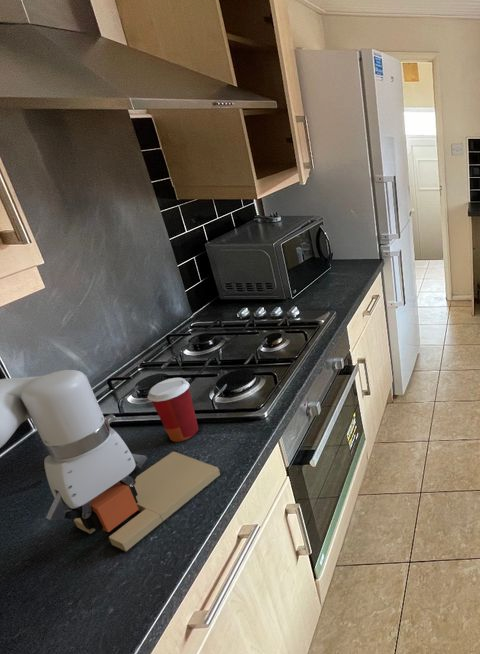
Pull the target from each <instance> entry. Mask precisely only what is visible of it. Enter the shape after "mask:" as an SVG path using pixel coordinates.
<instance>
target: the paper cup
mask: <svg viewBox="0 0 480 654" xmlns="http://www.w3.org/2000/svg"><path fill="white" fill-rule="evenodd" d="M190 386H191V385H190V383H189V382H188V381H187V380H186V379H185V378H183V377H172V378H167V379H164V380H162V381H160V382H158V383H156V384H155V385H153V386H152V387H151V388H150V390H149V391H148V394H147V400H148V401H151V403H152V405H153V407H154V409H155V411H156V413H157V415H158V417H159V420H160V422H161V423H162V426H163V427H164V430H165V432H166V433H167V436H168V437H169V440H171V441H172V442H175V443H177V442H179V443H180V442H183V441H186V440H189V439H190V438H192V437H193V436H195V435H196V434H197V433H198V431H199V425H198V421H197V416H196V412H195V411H196V410H195V409H194V403H193V399H192V395H191V394H192V393H191V391H190Z"/></svg>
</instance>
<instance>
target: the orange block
mask: <svg viewBox="0 0 480 654" xmlns="http://www.w3.org/2000/svg"><path fill="white" fill-rule="evenodd" d="M91 510H92V511H93V512H95V513H96V514H97V516H98V518H99V520H100V522H101V524H102V526H103V529H101V530H102V531H105V532H107V533H110V532H111V531H113V530H115V528H117V527H118V526H119V525H120V524H122V523H123V522H124V521H126V520H127V519H129V518H130V517H131V516H132V515H134V514H135V513H136V512H139V511H138V510H139V509H138V507H137V504H136V502H135V500H134V497H133V495H132V493H131V490H130V488H129V486H126V485H124V484H122V483H120V482H117V483H116V484H114V485H113V486H111V487H110V488H108V489H107V490H105V491H104V492H102V493H101V494H99V495H98V496H96V497H95V498H93V499H92V500H91Z"/></svg>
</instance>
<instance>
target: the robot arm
mask: <svg viewBox="0 0 480 654" xmlns="http://www.w3.org/2000/svg"><path fill="white" fill-rule="evenodd" d="M30 419H31V422H32V423H33V425H34V427H35V429H36V431H37V433H38V434H39V437H40V439H41V441H42V442H43V445H44V446H45V449H46V451H47V452H48V454H49V455H47V456H46V457H44V461H43V462H44V463H43V464H44V471H45V476H46V479H47V482H48V485H49V489H50V491H51V494H52V496H53V498H54V499H53V501H52V503H51V505H50V508H49V510H48V512H47V513H46V516H45V520H47V521H49V522H57V521H62V520H63V521H64V520H66V519H67V520H75V519H76V518H80V519H81V521H82V523H83V525H84V526H85V528H86V529H88V530H90V529H91V528H93V529H95V531H98V532H101V530H102V529H103V526H102V524H101V522H100V520H99V518H98V516H97V514H96V513H95V512H93V511H92V510H91V500H92V499H93V498H95V497H96V496H98V495H99V494H101V493H102V492H104V491H105V490H107V489H108V488H110V487H111V486H113V485H114V484H116V483H117V482H119V483H122V484H124V485H126V486H129V488H130V490H131V493H132V495H133V497H134V500H135V502H136V504H137V503H138V501H137V499H136V496H137V495H138V494H137V491H136V489H135V487H134V485H135V483H136V481H135V479H136V477H137V476H138V475H140V474H139V473H141V468H142V467H143V466H144V464H145V462H146V461H147V459H148V456H147V455H145V454H142V453H136V452H131V451H130V449H129V447H128V445H127V444H126V443H125V441H124V440H123V438H122V437H121V436H120V434H119V433H118V432H117V431H116V430H115V429H114V428H112V427H111V426H110V425H111V424H112V423H113V422H114V421H116V420H117V418H116V416H115V415H114V414H112V413H110V414H108V415H105V416H104V413H103V411H102V409H101V407H100V405H99V402H98V400H97V397H96V395H95V393H94V391H93V388H92V386H91V384H90V381H89V379H88V377H87V375H86V374H85V373H84V372H82V371H80V370H77V369H63V370H58V371H54V372H51V373H47V374H45V375H39V376H27V377H25V376H23V377H10V378H9V377H7V378H0V449H1V448H3V446H4V445H5V444H6V443H7V442H8V441H9V440H10V439H11V437H12V436H13V434H15V432H16V431H17V429H18V428H19V427H20V426H21V424H23V423H24V422H26V421H27V420H30ZM66 505H67V506H68V507H69V508H65V506H66Z"/></svg>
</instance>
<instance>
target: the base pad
mask: <svg viewBox="0 0 480 654" xmlns="http://www.w3.org/2000/svg"><path fill="white" fill-rule="evenodd" d="M219 476H221V472H220V469H219V467H217V466H215V465H212V464H210V463H206V462H204V461H202V460H198V459H197V458H193V457H190V456H188V455H184V454H182V453H179V452H176V451H171V452H170V453H169V454H167V455H166V456H164V457H163V458H161V459H160V460H159V461H157V462H156V463H154V464H153V465H151V466H150V467H148V468H147V469H145V470H144V471H143V472H140V474H138V475H137V477H136V479H135V481H136V483H135V485H134V487H135V489H136V491H137V494H138V495H137V496H136V499H137V501H138V503H137V507H138V509H139V510H138V511H137V512H139V513H138V514H137V515H135V516H134V517H133V518H131V519H130V520H129V521H128V522H127V523H125V524H124V525H122V526H121V527H120V528H118V529H117V530H116V531H115V532H113V533H112V534H110V535H109V536H108V539H109V541H110V543H111V546H114V547H115V548H117V549H120V550H122V551H124V552H128V551H129V550H130V549H131V548H132V547H134V546H136V544H138V543H139V542H140V541H141V540H142V539H144V537H146V536H147V535H148V534H149V533H151V532H152V531H154V529H156V528H157V527H158V526H159V525H160V524H163V522H164V521H165V520H167V519H168V518H169V517H171V516H172V515H173V514H174V513H175V512H176V511H178V510H179V509H180V508H182V507H183V506H184V505H185V504H186V503H188V502H189V501H190V500H191V499H193V498H194V497H195V496H196V495H197V494H199V493H200V492H201V491H202V490H204V489H205V488H206V487H207V486H209V485H210V484H211V483H212V482H213V481H215V480H216V479H217V478H218V477H219ZM73 522H74V524H75V526H76V528H78V529H80V530H81V531H84V532H86V533H88V534H89V535H91V534H92V533H94V532H95V531H96V530H95V529H93V528H91V529H90V530H88V529H86V528H85V526H84V525H83V523H82V521H81V519H80V518H75V519H73Z"/></svg>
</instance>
